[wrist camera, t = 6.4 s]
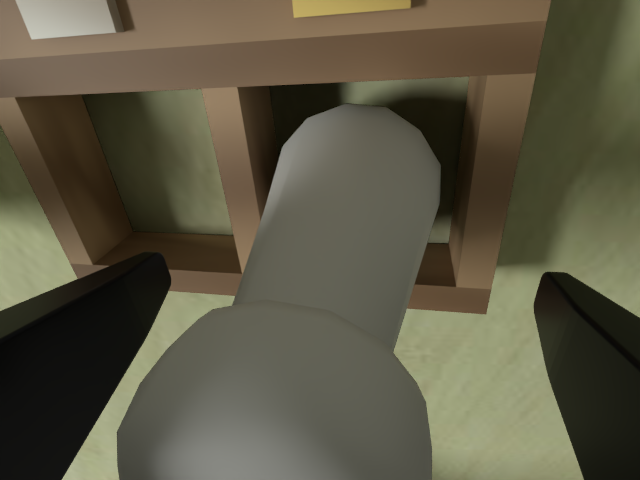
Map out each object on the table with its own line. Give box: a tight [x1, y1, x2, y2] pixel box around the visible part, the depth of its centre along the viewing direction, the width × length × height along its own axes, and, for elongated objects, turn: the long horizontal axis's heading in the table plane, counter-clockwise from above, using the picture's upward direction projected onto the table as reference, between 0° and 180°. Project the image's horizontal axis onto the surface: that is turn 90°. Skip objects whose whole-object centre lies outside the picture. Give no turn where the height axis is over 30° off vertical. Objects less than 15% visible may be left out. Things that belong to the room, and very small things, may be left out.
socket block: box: [0, 0, 551, 314], centre depth 14 cm, size 14×18×3 cm
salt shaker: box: [117, 103, 441, 480], centre depth 10 cm, size 6×6×13 cm
